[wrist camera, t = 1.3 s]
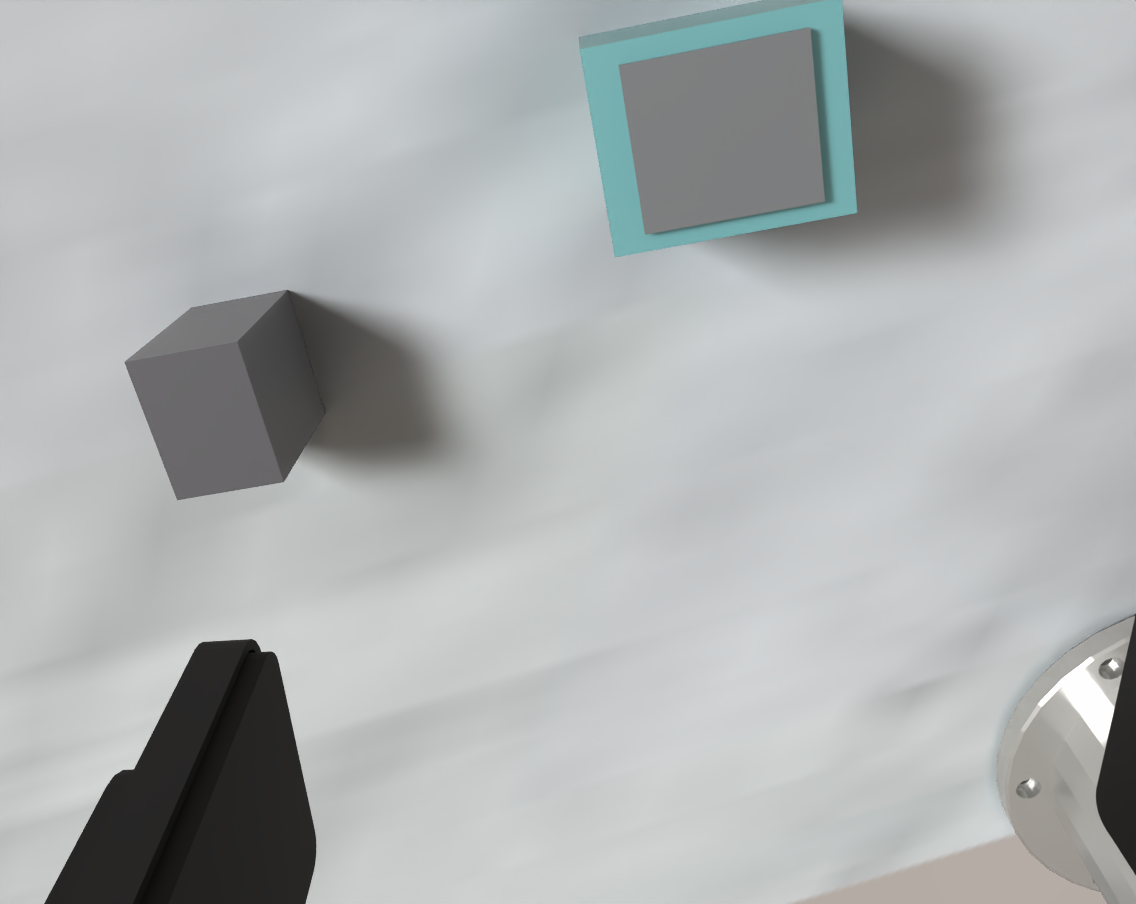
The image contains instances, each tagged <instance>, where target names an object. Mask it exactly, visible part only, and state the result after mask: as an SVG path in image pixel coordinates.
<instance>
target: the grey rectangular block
mask: <svg viewBox="0 0 1136 904" xmlns="http://www.w3.org/2000/svg"><path fill="white" fill-rule="evenodd" d="M125 365H126V367H127V370H128V372H129V375H130V378H131V380H132V383H133V386H134V388H135V391H136V393H137V396H138V399H139V401H140V404H141V406H142V409H143V412H144V414H145V417H146V420H147V422H148V425H149V427H150V430H151V433H152V435H153V438H154V440H155V443H156V446H157V448H158V451H159V453H160V456H161V459H162V461H163V464H164V467H165V469H166V472H167V474H168V477H169V480H170V482H171V485H172V487H173V490H174V493H175V495H176V498H177V500H181V499H187V498H192V497H198V496H204V495H210V494H216V493H222V492H228V491H234V490H240V489H246V488H252V487H257V486H263V485H269V484H275V483H281V482H284V481H285V479H286V478H287V476H288V474H289V473H290V471H291V469H292V468H293V466H294V464H295V463H296V461H297V459H298V458H299V456H300V454H301V453H302V451H303V449H304V448H305V446H306V444H307V443H308V441H309V439H310V438H311V436H312V434H313V433H314V431H315V429H316V428H317V426H318V424H319V423H320V421H321V419H322V418H323V416H324V414H325V410H324V407H323V403H322V400H321V397H320V394H319V390H318V387H317V384H316V381H315V377H314V374H313V371H312V367H311V364H310V361H309V358H308V354H307V351H306V348H305V345H304V341H303V338H302V335H301V332H300V328H299V325H298V322H297V318H296V315H295V312H294V309H293V305H292V302H291V299H290V296H289V292H288V290H284V291H279V292H274V293H268V294H263V295H257V296H252V297H247V298H241V299H236V300H230V301H225V302H220V303H214V304H209V305H203V306H198V307H193V308H191V309H189V310H188V311H187V312H186V313H184V314H183V315H182V316H181V317H179V318H178V319H177V320H176V321H175V322H173V323H172V324H171V325H170V326H168V327H167V328H166V329H165V330H163V331H162V332H161V333H160V334H159V335H157V336H156V337H155V338H154V339H152V340H151V341H150V342H149V343H147V344H146V345H145V346H144V347H143V348H141V349H140V350H139V351H138V352H136V353H135V354H134V355H133V356H131V357H130V358H129V359H128V360H127V361H125Z"/></svg>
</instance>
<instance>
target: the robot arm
mask: <svg viewBox="0 0 1136 904" xmlns="http://www.w3.org/2000/svg"><path fill="white" fill-rule="evenodd" d="M997 785H998V789H999V794H1000V799H1001V803H1002V806H1003V808H1004V810H1005V812H1006V814H1007V816H1008V818H1009V820H1010V822H1011V825H1012V827H1013V829H1014V831H1015V833H1016V834H1017V836H1018V837H1019V838H1020V840H1021V841H1022V843H1023V844H1024V846H1025V847H1026V849H1027V850H1028V851H1029V853H1030V854H1032V855H1033V856H1034V857H1035V858H1036V859H1037V860H1038V861H1040V862H1041V863H1042V864H1043V865H1044V866H1045V867H1046V868H1047V869H1049V870H1050V871H1052V872H1054V873H1056V874H1058V875H1059V876H1061V877H1063V878H1065V879H1066V880H1068V881H1070V882H1072V883H1075V884H1077V885H1080V886H1083V887H1086V888H1089V889H1091V890H1096V891H1099V892H1101V894H1102V895H1103V897H1104V899H1105V900H1106V902H1107V904H1136V615H1135V616H1133V617H1130V618H1128V619H1126V620H1124V621H1122V622H1119V623H1117V624H1115V625H1113V626H1111V627H1109V628H1106V629H1104V630H1102V631H1100V632H1098V633H1096V634H1094V635H1093V636H1091V637H1090V638H1088V639H1087V640H1085V641H1084V642H1082V643H1081V644H1079V645H1077V646H1076V647H1074V648H1073V649H1071V650H1070V651H1068V652H1067V653H1065V654H1064V655H1063V656H1062V657H1061V658H1060V659H1059V660H1058V661H1056V662H1055V663H1054V664H1053V665H1052V666H1051V667H1050V668H1049V669H1047V670H1046V671H1045V672H1044V673H1043V674H1042V675H1041V676H1040V677H1039V678H1038V679H1037V680H1036V682H1035V683H1034V684H1033V686H1032V687H1031V688H1030V689H1029V691H1028V692H1027V693H1026V694H1025V696H1024V697H1023V698H1022V699H1021V701H1020V702H1019V704H1018V706H1017V707H1016V709H1015V711H1014V713H1013V715H1012V717H1011V719H1010V721H1009V722H1008V724H1007V726H1006V728H1005V731H1004V735H1003V738H1002V742H1001V745H1000V749H999V752H998V761H997ZM315 860H316V836H315V829H314V825H313V820H312V816H311V811H310V806H309V802H308V797H307V792H306V788H305V783H304V778H303V774H302V769H301V765H300V760H299V755H298V751H297V746H296V741H295V737H294V732H293V727H292V723H291V718H290V713H289V709H288V704H287V700H286V695H285V690H284V686H283V681H282V676H281V672H280V667H279V663H278V659H277V657H276V655H275V653H273V652H261V650H260V647H259V645H258V644H257V642H256V641H255V640H253V639H248V640H230V641H212V642H202V643H200V644H199V645H198V646H197V647H196V649H195V650H194V652H193V654H192V656H191V658H190V660H189V662H188V664H187V666H186V668H185V670H184V672H183V674H182V676H181V678H180V680H179V682H178V684H177V686H176V688H175V690H174V692H173V694H172V696H171V698H170V700H169V702H168V704H167V706H166V708H165V710H164V712H163V714H162V715H161V717H160V719H159V721H158V723H157V725H156V727H155V729H154V731H153V733H152V735H151V737H150V739H149V741H148V743H147V745H146V747H145V749H144V751H143V753H142V755H141V757H140V759H139V761H138V763H137V765H136V767H135V769H134V770H122V771H121V772H119V773H118V774H116V775H115V776H114V777H113V778H112V780H111V781H110V783H109V784H108V785H107V787H106V788H105V790H104V792H103V794H102V796H101V798H100V800H99V802H98V804H97V805H96V807H95V809H94V811H93V813H92V815H91V817H90V819H89V821H88V822H87V824H86V826H85V828H84V830H83V832H82V834H81V836H80V837H79V839H78V841H77V843H76V845H75V847H74V849H73V851H72V853H71V854H70V856H69V858H68V860H67V862H66V864H65V866H64V868H63V870H62V871H61V873H60V875H59V877H58V879H57V881H56V883H55V885H54V887H53V888H52V890H51V892H50V894H49V896H48V898H47V900H46V902H45V903H44V904H305V903H306V899H307V895H308V891H309V887H310V883H311V879H312V875H313V872H314V867H315Z"/></svg>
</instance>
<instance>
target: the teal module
mask: <svg viewBox="0 0 1136 904" xmlns="http://www.w3.org/2000/svg"><path fill="white" fill-rule="evenodd" d="M579 47H580V54H581V60H582V66H583V72H584V78H585V84H586V90H587V96H588V102H589V107H590V113H591V119H592V125H593V131H594V137H595V143H596V149H597V154H598V160H599V166H600V172H601V178H602V184H603V190H604V196H605V202H606V207H607V213H608V219H609V225H610V231H611V237H612V243H613V249H614V254H615V257H619V256H625V255H630V254H636V253H641V252H647V251H652V250H658V249H663V248H669V247H674V246H679V245H685V244H690V243H696V242H701V241H707V240H712V239H718V238H723V237H729V236H734V235H740V234H745V233H751V232H756V231H762V230H767V229H772V228H778V227H783V226H789V225H794V224H800V223H805V222H811V221H816V220H822V219H827V218H833V217H838V216H844V215H849V214H854V213H857V202H856V188H855V174H854V160H853V146H852V132H851V118H850V104H849V90H848V76H847V62H846V48H845V34H844V20H843V6H842V0H762V1H757V2H752V3H747V4H742V5H737V6H732V7H727V8H722V9H717V10H712V11H707V12H702V13H697V14H692V15H687V16H682V17H677V18H673V19H668V20H663V21H658V22H653V23H648V24H643V25H638V26H633V27H628V28H623V29H618V30H613V31H608V32H603V33H598V34H593V35H588V36H583V37H579Z"/></svg>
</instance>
